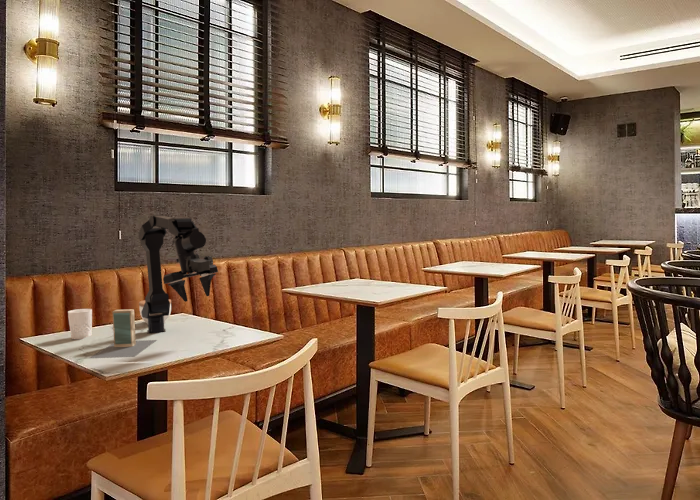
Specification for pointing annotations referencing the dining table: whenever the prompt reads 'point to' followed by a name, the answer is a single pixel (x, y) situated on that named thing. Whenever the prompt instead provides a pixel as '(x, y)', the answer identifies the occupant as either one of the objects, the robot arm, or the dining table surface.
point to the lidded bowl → (141, 305)
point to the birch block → (124, 328)
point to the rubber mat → (123, 350)
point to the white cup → (80, 323)
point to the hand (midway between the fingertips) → (197, 298)
